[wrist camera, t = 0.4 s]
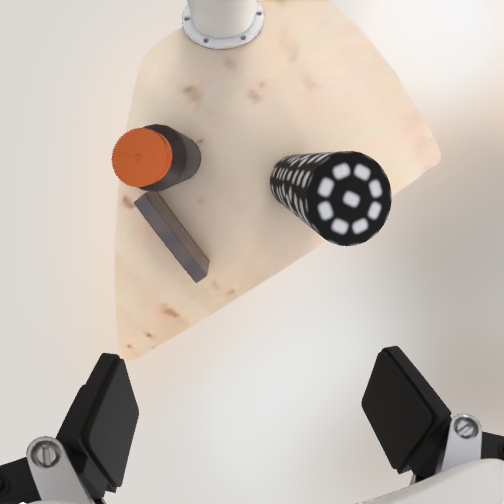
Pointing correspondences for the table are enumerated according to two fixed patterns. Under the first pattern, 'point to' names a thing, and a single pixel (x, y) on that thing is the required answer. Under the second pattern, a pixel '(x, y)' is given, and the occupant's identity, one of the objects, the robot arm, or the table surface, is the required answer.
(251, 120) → the table surface
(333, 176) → the white-spotted black cylinder
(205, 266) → the bar
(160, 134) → the bottle
